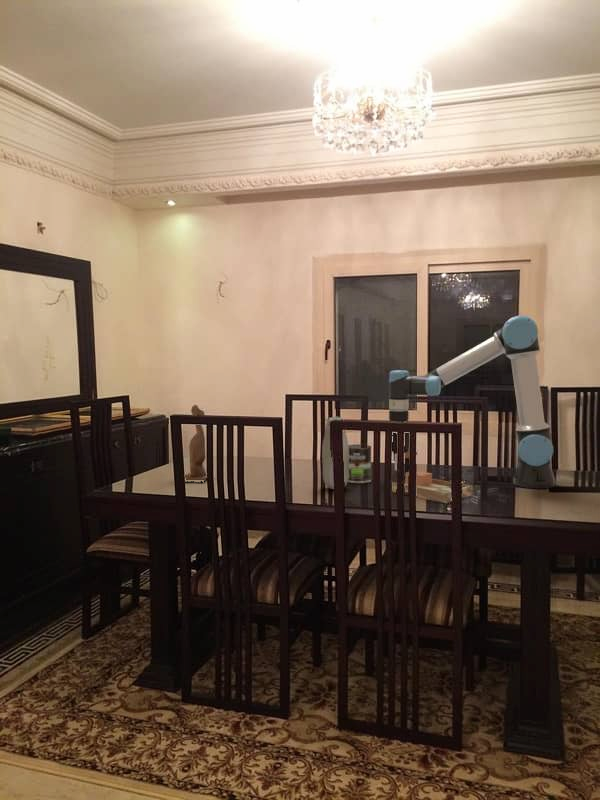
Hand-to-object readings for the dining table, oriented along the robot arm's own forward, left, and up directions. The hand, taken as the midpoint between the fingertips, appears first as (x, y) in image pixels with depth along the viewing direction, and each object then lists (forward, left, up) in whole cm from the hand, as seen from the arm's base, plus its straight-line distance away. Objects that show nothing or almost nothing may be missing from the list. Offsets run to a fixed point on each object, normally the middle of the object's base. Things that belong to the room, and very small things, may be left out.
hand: (398, 469), depth 246 cm
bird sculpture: (+51, -66, -6) cm, 83 cm away
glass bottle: (+22, -13, -6) cm, 26 cm away
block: (0, +10, -4) cm, 11 cm away
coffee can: (+5, -17, -6) cm, 19 cm away
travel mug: (-14, -7, -6) cm, 17 cm away
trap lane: (+3, +17, -6) cm, 18 cm away
